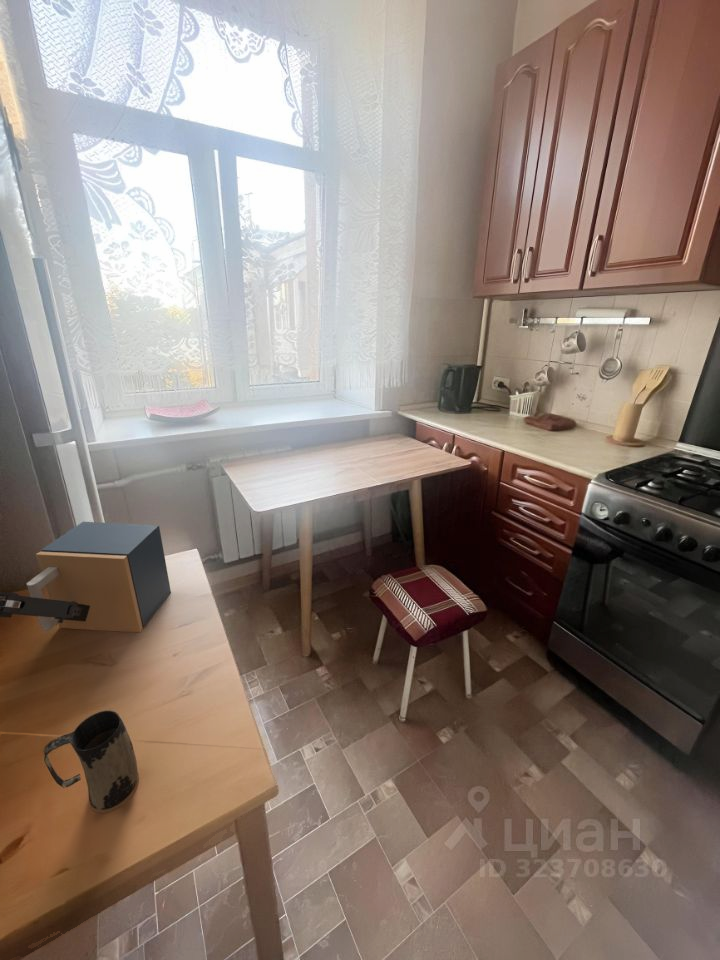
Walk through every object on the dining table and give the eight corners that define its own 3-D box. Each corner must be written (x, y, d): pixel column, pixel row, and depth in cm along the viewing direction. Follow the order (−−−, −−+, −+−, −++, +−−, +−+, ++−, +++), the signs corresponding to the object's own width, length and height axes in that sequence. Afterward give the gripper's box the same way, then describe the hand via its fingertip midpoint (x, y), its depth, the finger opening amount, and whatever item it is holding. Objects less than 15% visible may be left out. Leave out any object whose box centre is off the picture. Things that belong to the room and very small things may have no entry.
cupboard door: (123, 654, 71) (104, 576, 65) (37, 649, 71) (9, 571, 65) (143, 628, 77) (127, 555, 70) (62, 624, 77) (40, 551, 71)
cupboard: (143, 628, 77) (127, 554, 71) (64, 624, 77) (40, 549, 71) (171, 592, 87) (159, 525, 81) (100, 589, 87) (83, 521, 81)
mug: (135, 756, 54) (118, 694, 50) (145, 791, 51) (127, 727, 46) (66, 795, 50) (40, 730, 45) (70, 837, 46) (42, 770, 41)
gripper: (-183, 622, 49) (-28, 629, 69) (9, 633, 49) (110, 637, 68) (-149, 562, 52) (-10, 586, 72) (32, 572, 52) (123, 593, 71)
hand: (49, 611), depth 70 cm, fingers open, 13 cm apart
